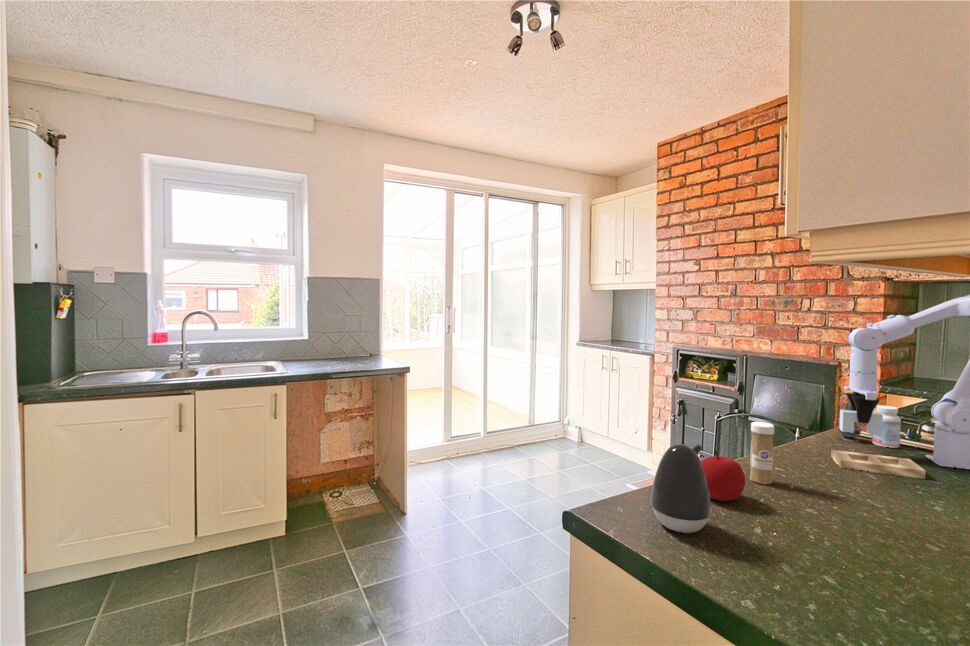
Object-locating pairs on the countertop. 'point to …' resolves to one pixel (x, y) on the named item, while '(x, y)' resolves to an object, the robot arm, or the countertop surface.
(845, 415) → the pale blue u-shaped block
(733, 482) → the apple
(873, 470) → the wooden slotted board
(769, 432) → the sprinkles bottle
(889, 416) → the pill bottle
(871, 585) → the countertop surface
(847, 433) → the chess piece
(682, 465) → the grey egg-shaped body
